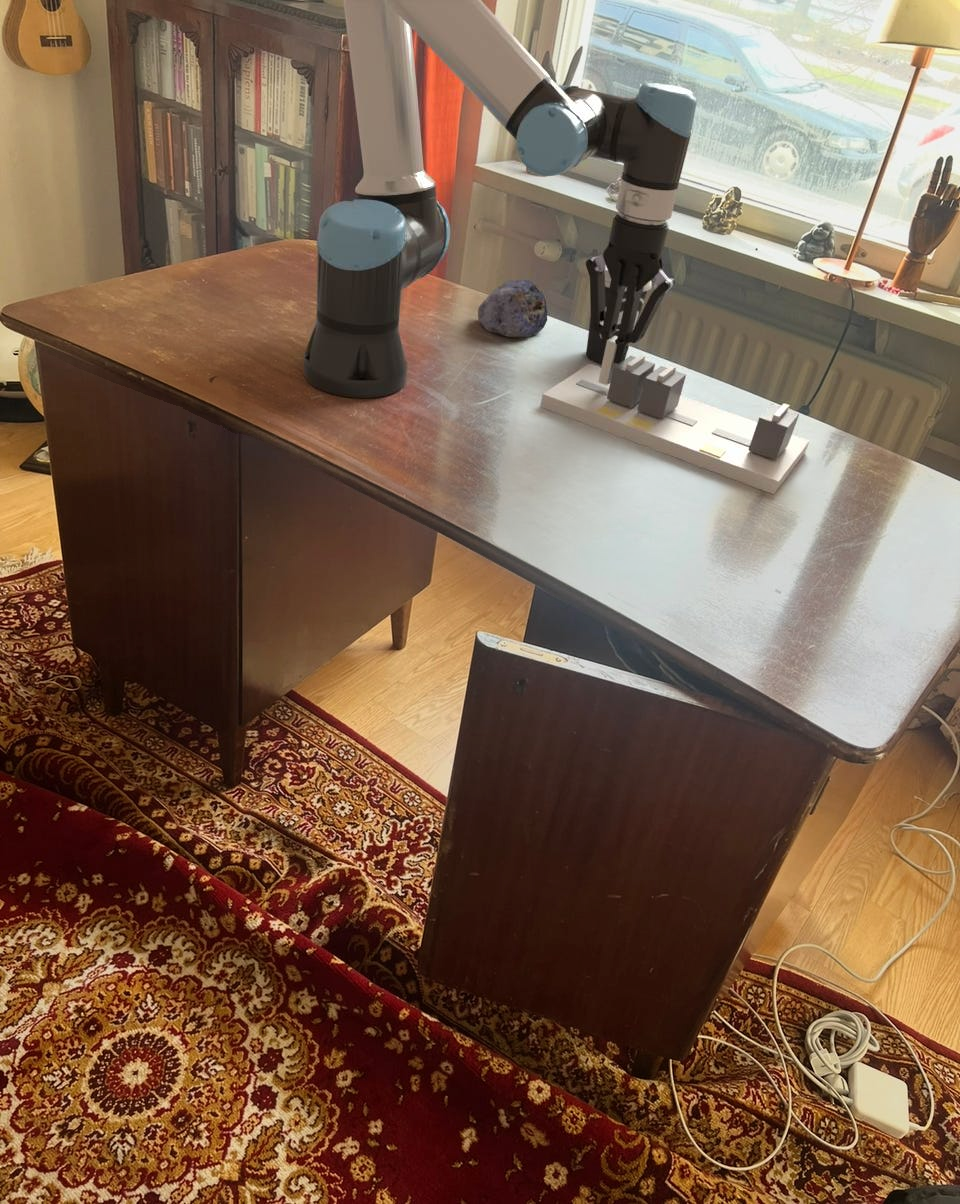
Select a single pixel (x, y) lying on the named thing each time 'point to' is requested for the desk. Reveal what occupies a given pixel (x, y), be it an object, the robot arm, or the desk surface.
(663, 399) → the slider
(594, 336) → the coffee cup
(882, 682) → the desk surface
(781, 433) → the slider
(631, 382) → the slider
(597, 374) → the console
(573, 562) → the desk surface
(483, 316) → the rock
